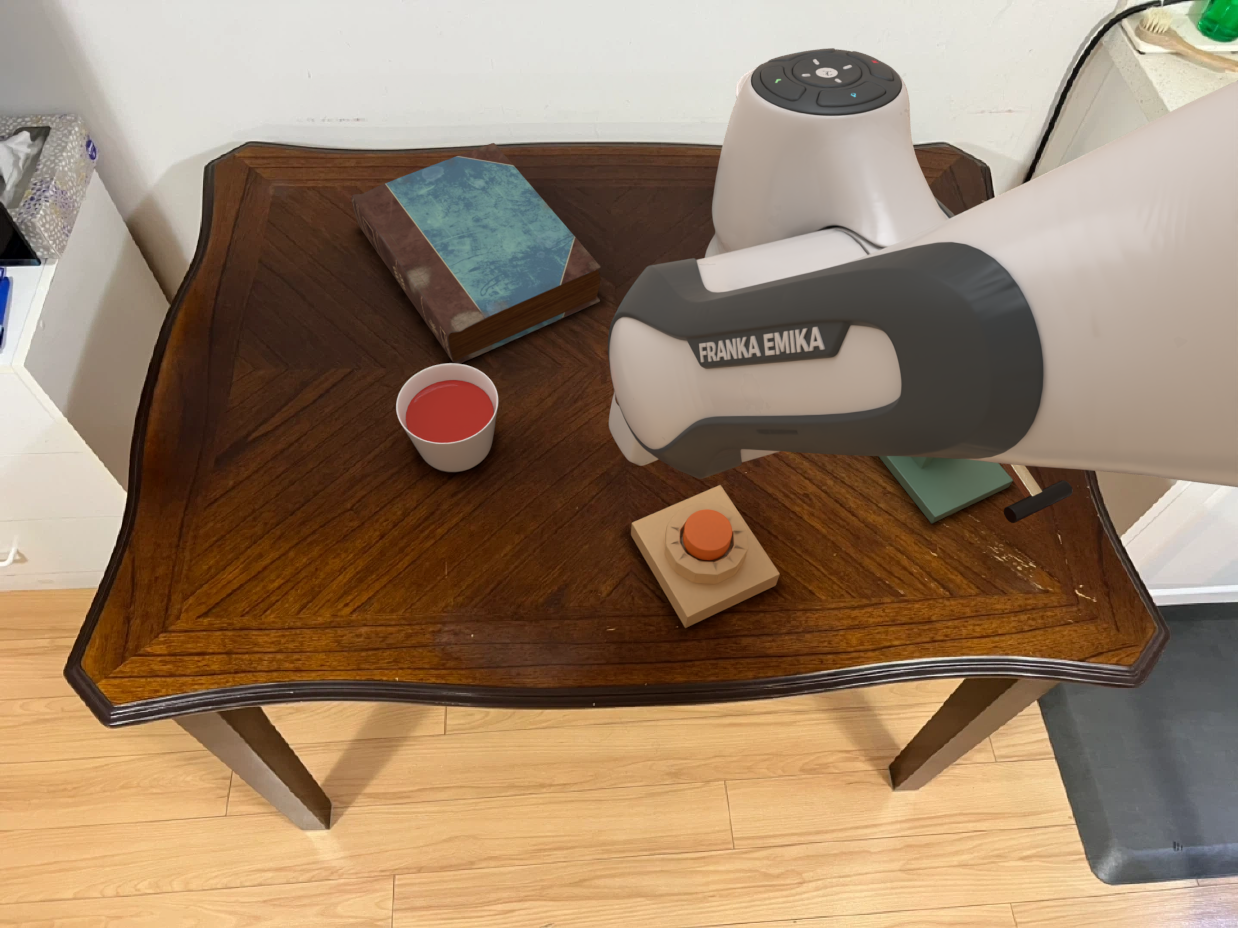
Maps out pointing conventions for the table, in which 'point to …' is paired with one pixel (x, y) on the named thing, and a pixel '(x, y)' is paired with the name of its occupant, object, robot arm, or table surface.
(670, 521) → the call button
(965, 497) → the green lever stand
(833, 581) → the table surface
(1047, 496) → the lever handle
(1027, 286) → the robot arm
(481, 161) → the book
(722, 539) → the button
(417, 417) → the white round tub
